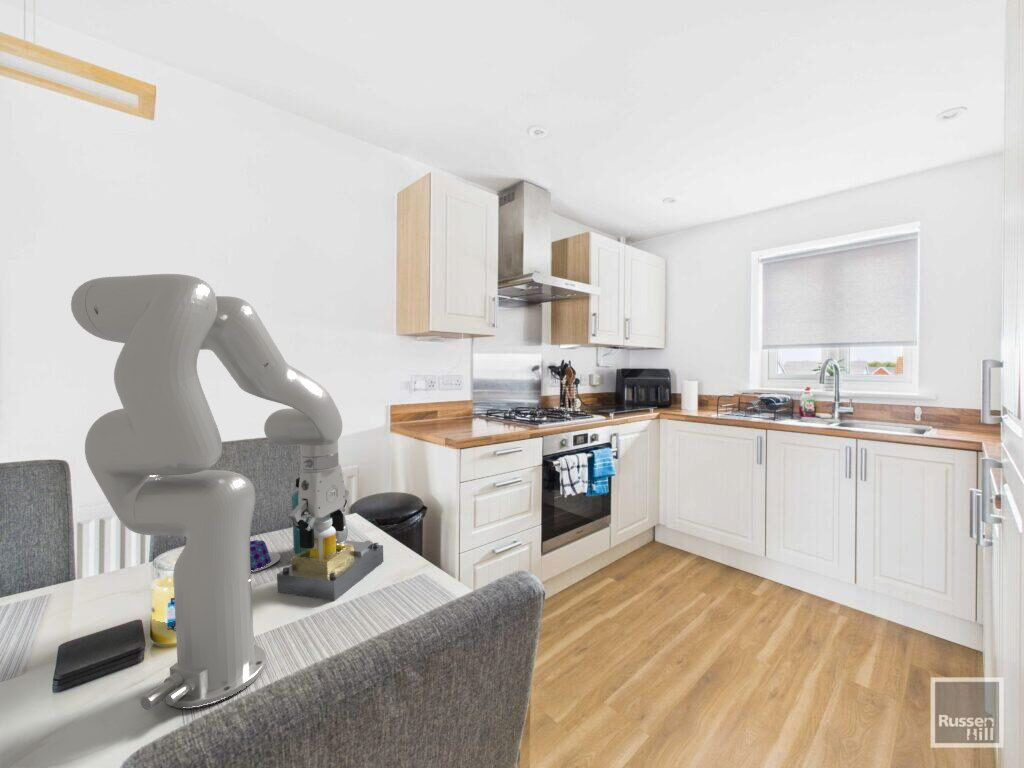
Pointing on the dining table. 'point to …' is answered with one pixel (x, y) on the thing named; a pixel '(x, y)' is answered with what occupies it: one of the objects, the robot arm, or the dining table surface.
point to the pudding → (261, 555)
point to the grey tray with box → (330, 570)
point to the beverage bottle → (295, 532)
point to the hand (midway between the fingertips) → (323, 538)
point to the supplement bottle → (323, 539)
